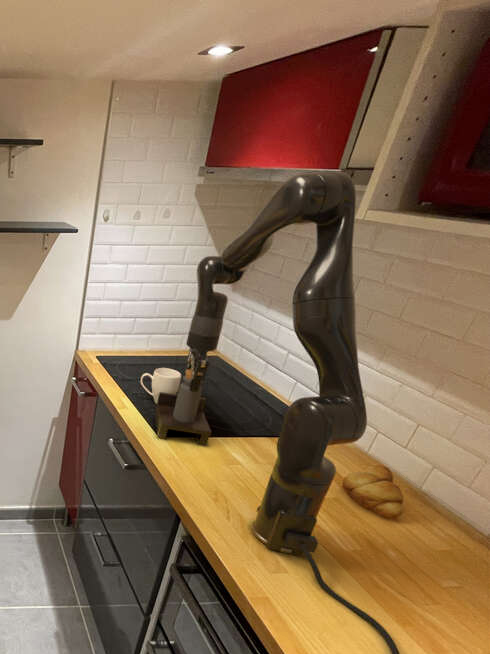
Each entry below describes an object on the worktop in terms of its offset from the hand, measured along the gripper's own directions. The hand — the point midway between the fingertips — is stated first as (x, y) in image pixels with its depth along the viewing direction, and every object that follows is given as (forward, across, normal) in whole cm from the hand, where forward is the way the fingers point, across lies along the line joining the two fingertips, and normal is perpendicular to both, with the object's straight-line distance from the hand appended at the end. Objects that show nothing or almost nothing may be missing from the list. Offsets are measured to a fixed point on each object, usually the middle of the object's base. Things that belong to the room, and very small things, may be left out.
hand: (191, 385), depth 128 cm
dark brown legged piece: (+16, -1, 0) cm, 16 cm away
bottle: (+11, 0, 0) cm, 11 cm away
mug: (+16, -20, -5) cm, 26 cm away
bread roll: (+16, +20, +39) cm, 47 cm away
